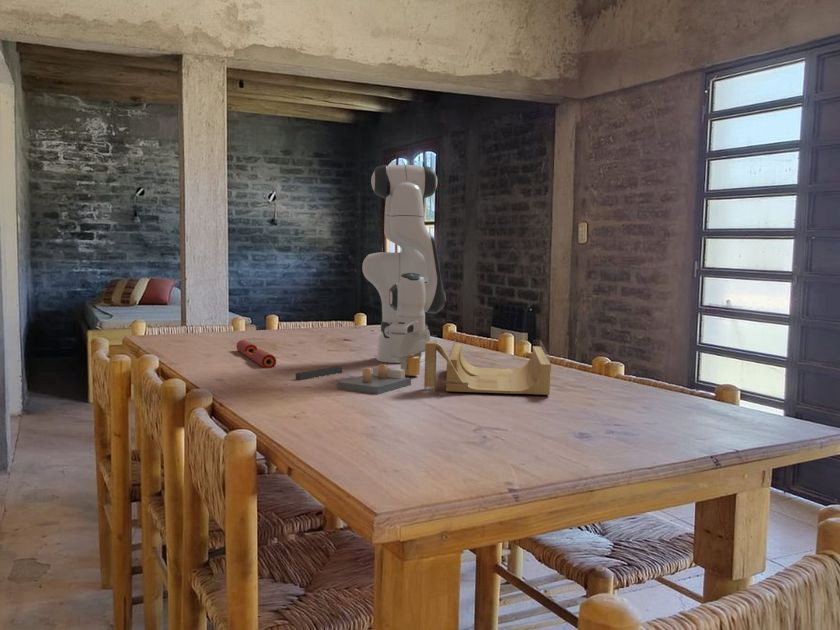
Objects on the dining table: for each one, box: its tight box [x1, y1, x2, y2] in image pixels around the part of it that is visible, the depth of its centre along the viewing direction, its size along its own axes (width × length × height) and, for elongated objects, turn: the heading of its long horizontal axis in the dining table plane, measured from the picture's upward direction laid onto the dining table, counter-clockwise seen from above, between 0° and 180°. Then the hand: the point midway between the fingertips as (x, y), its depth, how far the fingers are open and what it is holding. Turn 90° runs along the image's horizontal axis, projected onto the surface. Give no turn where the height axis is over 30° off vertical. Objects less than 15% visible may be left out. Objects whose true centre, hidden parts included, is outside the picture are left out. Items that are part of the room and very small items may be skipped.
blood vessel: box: [236, 339, 277, 369], centre depth 265 cm, size 42×5×5 cm, turn 25°
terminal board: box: [336, 363, 412, 395], centre depth 217 cm, size 18×14×6 cm
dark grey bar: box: [295, 366, 343, 381], centre depth 233 cm, size 19×3×4 cm
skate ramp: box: [423, 334, 552, 396], centre depth 228 cm, size 40×35×16 cm
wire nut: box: [405, 355, 421, 376], centre depth 235 cm, size 6×6×6 cm
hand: (410, 368), depth 235 cm, fingers closed on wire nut, 6 cm apart
